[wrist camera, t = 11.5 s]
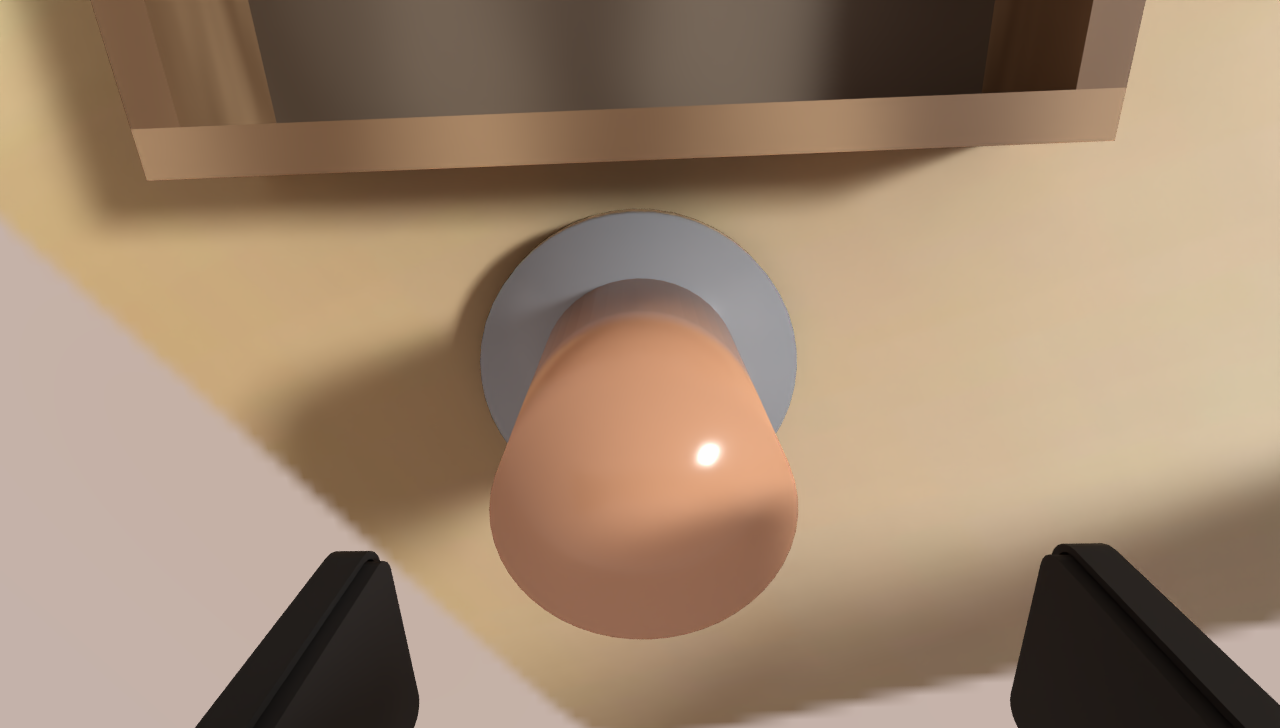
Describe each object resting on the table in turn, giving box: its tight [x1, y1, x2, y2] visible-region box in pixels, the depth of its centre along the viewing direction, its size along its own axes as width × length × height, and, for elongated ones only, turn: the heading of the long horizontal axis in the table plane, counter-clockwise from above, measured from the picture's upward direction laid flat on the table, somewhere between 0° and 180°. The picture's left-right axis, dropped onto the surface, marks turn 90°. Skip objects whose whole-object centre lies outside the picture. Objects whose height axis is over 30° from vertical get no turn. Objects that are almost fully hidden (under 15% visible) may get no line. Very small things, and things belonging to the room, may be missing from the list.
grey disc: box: [480, 209, 797, 443], centre depth 18 cm, size 9×9×1 cm
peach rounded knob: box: [489, 278, 798, 639], centre depth 15 cm, size 6×6×7 cm
